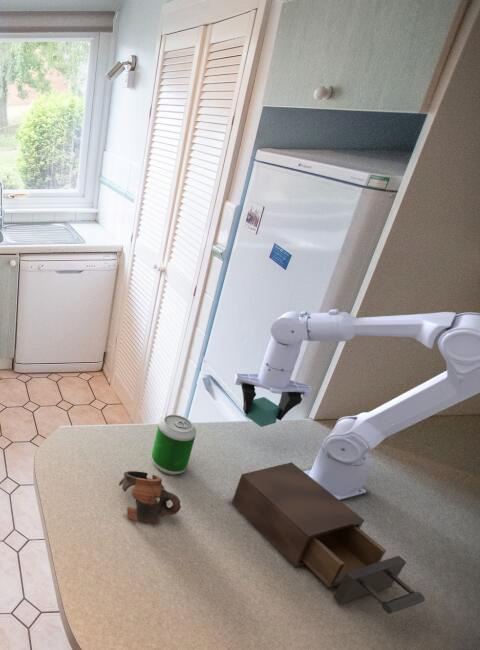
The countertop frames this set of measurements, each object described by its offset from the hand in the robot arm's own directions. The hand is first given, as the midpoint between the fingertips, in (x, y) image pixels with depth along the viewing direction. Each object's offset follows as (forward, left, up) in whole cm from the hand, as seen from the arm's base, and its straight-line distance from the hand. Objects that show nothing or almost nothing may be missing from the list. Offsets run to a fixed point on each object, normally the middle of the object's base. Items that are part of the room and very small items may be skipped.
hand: (261, 414), depth 105 cm
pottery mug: (+35, +9, -10) cm, 38 cm away
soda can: (+23, 0, -10) cm, 25 cm away
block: (0, 0, -1) cm, 1 cm away
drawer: (+11, +30, -9) cm, 34 cm away
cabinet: (+11, +20, -10) cm, 25 cm away
